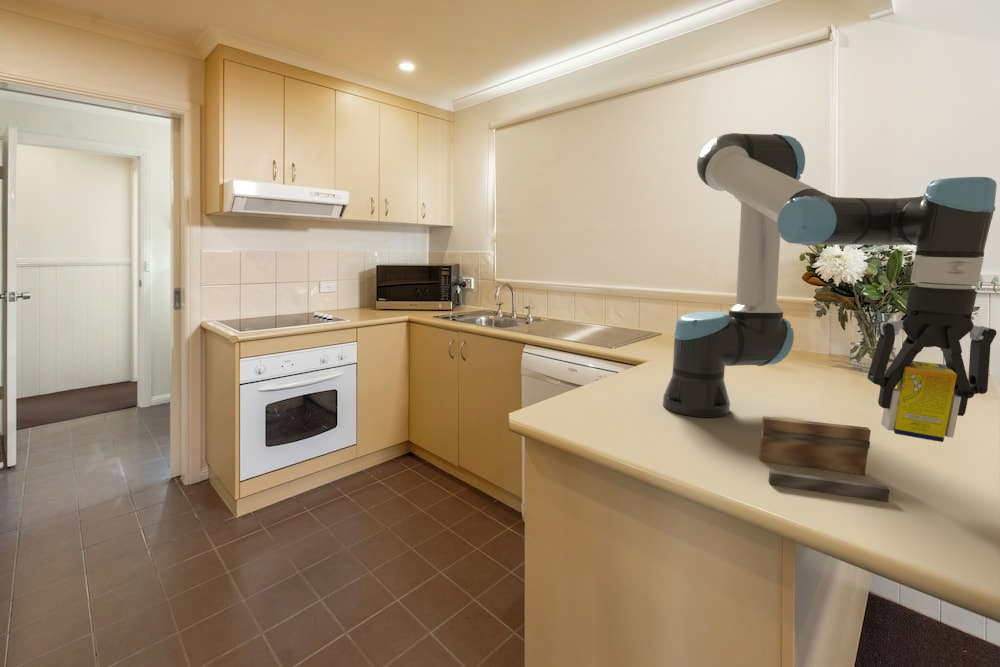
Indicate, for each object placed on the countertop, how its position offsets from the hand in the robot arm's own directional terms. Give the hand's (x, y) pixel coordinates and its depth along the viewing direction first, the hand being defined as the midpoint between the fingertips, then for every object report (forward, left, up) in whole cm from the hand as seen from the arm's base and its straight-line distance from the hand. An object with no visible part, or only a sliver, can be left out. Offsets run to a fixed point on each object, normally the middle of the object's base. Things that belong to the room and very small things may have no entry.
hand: (915, 430), depth 76 cm
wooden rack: (-13, -1, -10) cm, 16 cm away
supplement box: (0, 0, -1) cm, 1 cm away
